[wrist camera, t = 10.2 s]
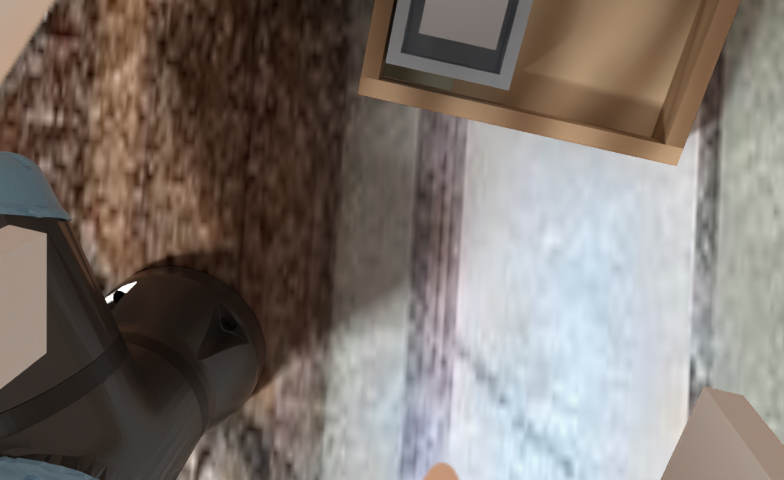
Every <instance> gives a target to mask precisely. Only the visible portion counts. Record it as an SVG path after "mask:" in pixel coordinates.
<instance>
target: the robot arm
mask: <svg viewBox="0 0 784 480" xmlns="http://www.w3.org/2000/svg"><path fill="white" fill-rule="evenodd" d="M71 220H72V219H71V216H70V215H69V213H68V212H66V211H64V210H63V208H62V206H61V205H60V203H59V201H58V199H57V198H56V196H55V194H54V192H53V190H52V188H51V186H50V184H49V183H48V181H47V179H46V177H45V175H44V173H43V172H42V170H41V169H40V167H39V166H38V165H37V164H35V163H34V162H33V161H32V160H30V159H29V158H27V157H25V156H22V155H20V154H16V153H12V152H0V480H176V478H177V477H178V475H179V473H180V472H181V470H182V468H183V467H184V465H185V463H186V462H187V460H188V458H189V457H190V455H191V453H192V451H193V450H194V448H195V446H196V444H197V443H198V441H199V440H200V438H201V437H202V436H203V435H205V434H206V433H208V432H209V431H210V430H212V429H213V428H215V427H216V426H217V425H219V424H220V423H221V422H223V421H224V420H226V419H228V418H229V417H231V416H232V415H233V414H235V413H236V412H237V411H238V410H239V409H240V408H241V407H242V406H243V405H244V404H245V403H246V401H247V400H248V399H249V397H250V395H251V394H252V392H253V390H254V389H255V387H256V385H257V383H258V381H259V379H260V377H261V374H262V371H263V368H264V362H265V344H264V339H263V335H262V331H261V328H260V326H259V323H258V321H257V319H256V317H255V316H254V314H253V312H252V311H251V309H250V308H249V306H248V305H247V304H246V303H245V301H244V300H243V299H242V298H241V297H240V296H239V295H238V294H237V293H236V292H235V291H234V290H232V289H231V288H230V287H229V286H227V285H226V284H224V283H223V282H221V281H220V280H218V279H216V278H214V277H212V276H210V275H208V274H206V273H203V272H201V271H198V270H194V269H190V268H185V267H178V266H162V267H154V268H150V269H146V270H143V271H141V272H138V273H136V274H134V275H132V276H131V277H129V278H128V279H126V280H125V281H124V282H122V283H121V284H120V285H118V286H117V287H116V288H114V289H113V290H112V291H111V292H110V293H109V294H108V295H107V296H106V297H105V298H104V295H103V293H102V291H101V289H100V287H99V285H98V283H97V280H96V278H95V276H94V274H93V271H92V269H91V267H90V265H89V263H88V260H87V258H86V256H85V254H84V252H83V249H82V247H81V245H80V243H79V241H78V238H77V236H76V234H75V232H74V230H73V227H72V225H71V223H70V221H71ZM661 480H784V445H783V444H782V443H781V442H780V440H779V439H778V438H777V437H776V435H775V434H774V433H773V432H772V430H771V429H770V428H769V427H768V425H767V424H766V423H765V422H764V421H763V419H762V418H761V417H760V416H759V414H758V413H757V412H756V411H755V409H754V408H753V407H752V406H751V405H750V403H749V402H748V401H747V400H746V398H745V397H744V396H743V395H738V394H734V393H730V392H725V391H721V390H717V389H713V388H708V387H704V388H703V390H702V392H701V394H700V396H699V398H698V400H697V403H696V405H695V407H694V409H693V411H692V413H691V415H690V418H689V420H688V422H687V424H686V426H685V428H684V430H683V433H682V435H681V437H680V439H679V441H678V443H677V446H676V448H675V450H674V452H673V454H672V456H671V458H670V461H669V463H668V465H667V467H666V469H665V471H664V473H663V476H662V478H661Z"/></svg>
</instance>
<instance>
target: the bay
mask: <svg viewBox="0 0 784 480" xmlns="http://www.w3.org/2000/svg"><path fill="white" fill-rule="evenodd" d="M740 1H741V0H533V3H532V6H531V10H530V14H529V17H528V21H527V25H526V29H525V32H524V36H523V40H522V43H521V47H520V51H519V54H518V58H517V62H516V65H515V69H514V73H513V76H512V80H511V84H510V87H509V90H504V89H500V88H495V87H491V86H487V85H482V84H478V83H473V82H469V81H464V80H460V79H455V78H451V77H446V76H442V75H438V74H433V73H429V72H424V71H420V70H415V69H411V68H406V67H402V66H397V65H393V64H388V63H386V58H387V52H388V47H389V42H390V37H391V32H392V27H393V22H394V17H395V12H396V7H397V2H398V0H375V2H374V7H373V13H372V18H371V24H370V29H369V35H368V40H367V45H366V51H365V56H364V62H363V67H362V73H361V78H360V84H359V89H358V94H359V95H364V96H368V97H373V98H377V99H382V100H386V101H390V102H395V103H399V104H404V105H408V106H413V107H417V108H421V109H426V110H430V111H435V112H439V113H444V114H448V115H452V116H457V117H461V118H466V119H470V120H475V121H479V122H483V123H488V124H492V125H497V126H501V127H506V128H510V129H515V130H519V131H523V132H528V133H532V134H537V135H541V136H546V137H550V138H554V139H559V140H563V141H568V142H572V143H577V144H581V145H585V146H590V147H594V148H599V149H603V150H608V151H612V152H616V153H621V154H625V155H630V156H634V157H639V158H643V159H647V160H652V161H656V162H661V163H665V164H670V165H674V166H677V164H678V161H679V159H680V156H681V153H682V151H683V148H684V146H685V143H686V140H687V138H688V135H689V133H690V130H691V128H692V125H693V122H694V120H695V117H696V115H697V112H698V109H699V107H700V104H701V102H702V99H703V96H704V94H705V91H706V89H707V86H708V84H709V81H710V78H711V76H712V73H713V71H714V68H715V65H716V63H717V60H718V58H719V55H720V53H721V50H722V47H723V45H724V42H725V40H726V37H727V34H728V32H729V29H730V27H731V24H732V22H733V19H734V16H735V14H736V11H737V9H738V6H739V3H740Z"/></svg>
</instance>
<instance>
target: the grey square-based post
mask: <svg viewBox="0 0 784 480" xmlns="http://www.w3.org/2000/svg"><path fill="white" fill-rule="evenodd" d="M532 3H533V0H398V2H397V7H396V12H395V17H394V22H393V27H392V32H391V37H390V42H389V47H388V52H387V58H386V63H388V64H393V65H397V66H402V67H406V68H411V69H415V70H420V71H424V72H429V73H433V74H438V75H442V76H446V77H451V78H455V79H460V80H464V81H469V82H473V83H478V84H482V85H487V86H491V87H495V88H500V89H504V90H509V87H510V84H511V80H512V76H513V73H514V69H515V65H516V62H517V58H518V54H519V51H520V47H521V43H522V40H523V36H524V32H525V29H526V25H527V21H528V17H529V14H530V10H531V6H532Z"/></svg>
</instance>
